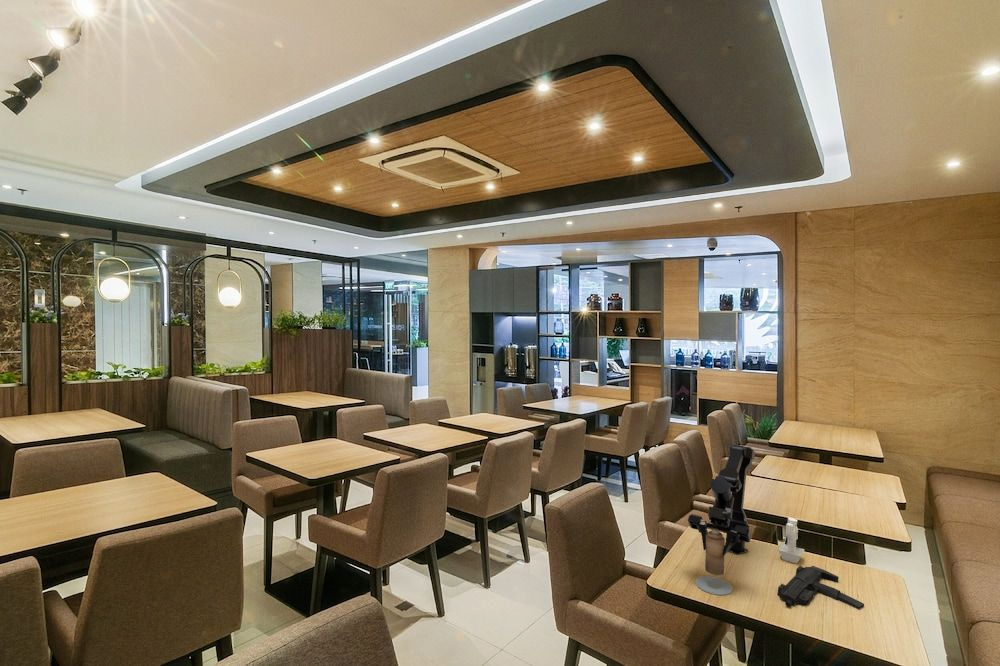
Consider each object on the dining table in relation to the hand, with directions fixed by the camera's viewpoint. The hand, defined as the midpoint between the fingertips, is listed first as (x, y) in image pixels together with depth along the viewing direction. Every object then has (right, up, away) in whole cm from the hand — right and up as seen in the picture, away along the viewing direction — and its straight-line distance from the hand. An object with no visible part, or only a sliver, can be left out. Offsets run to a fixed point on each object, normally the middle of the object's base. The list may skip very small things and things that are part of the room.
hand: (713, 552), depth 162 cm
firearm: (+33, -13, -4) cm, 35 cm away
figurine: (+37, -12, +21) cm, 44 cm away
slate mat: (+1, -12, +1) cm, 12 cm away
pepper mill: (+1, -7, +1) cm, 7 cm away
